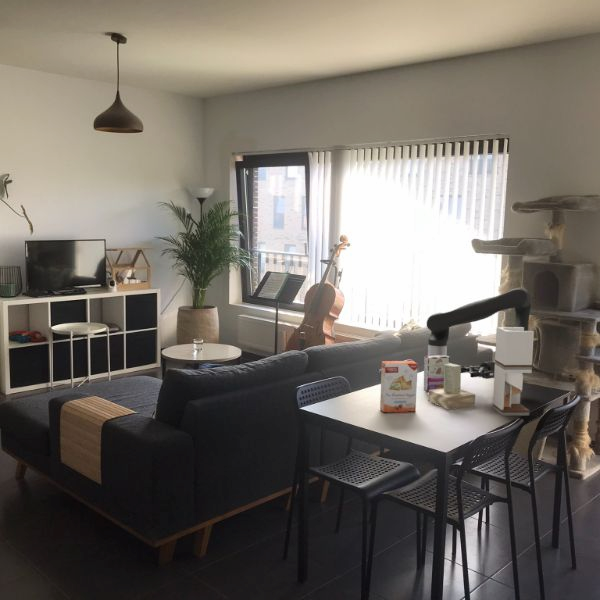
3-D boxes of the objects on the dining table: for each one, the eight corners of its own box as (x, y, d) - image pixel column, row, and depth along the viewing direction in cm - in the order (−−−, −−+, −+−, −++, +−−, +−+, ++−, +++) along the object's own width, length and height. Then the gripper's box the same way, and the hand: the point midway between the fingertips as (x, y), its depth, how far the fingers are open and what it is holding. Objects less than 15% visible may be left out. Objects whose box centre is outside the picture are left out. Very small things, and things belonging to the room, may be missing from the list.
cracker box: (383, 413, 262) (385, 363, 260) (379, 409, 268) (381, 360, 266) (416, 412, 265) (418, 363, 262) (411, 408, 270) (413, 360, 268)
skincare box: (460, 392, 277) (461, 365, 275) (453, 394, 274) (454, 366, 273) (449, 389, 282) (450, 362, 281) (442, 391, 280) (443, 363, 278)
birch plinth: (428, 401, 282) (428, 390, 281) (453, 397, 288) (454, 386, 287) (448, 409, 269) (449, 397, 269) (474, 405, 275) (475, 394, 275)
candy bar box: (444, 388, 305) (445, 354, 303) (449, 390, 300) (450, 356, 298) (422, 389, 302) (423, 355, 300) (427, 392, 297) (428, 357, 295)
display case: (502, 415, 262) (506, 331, 257) (492, 408, 272) (496, 327, 268) (529, 415, 262) (533, 331, 258) (518, 407, 273) (523, 327, 269)
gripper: (482, 358, 293) (454, 361, 286) (504, 364, 280) (475, 367, 273) (481, 374, 294) (453, 377, 287) (503, 381, 281) (475, 384, 274)
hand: (464, 372), depth 280 cm, fingers open, 8 cm apart
